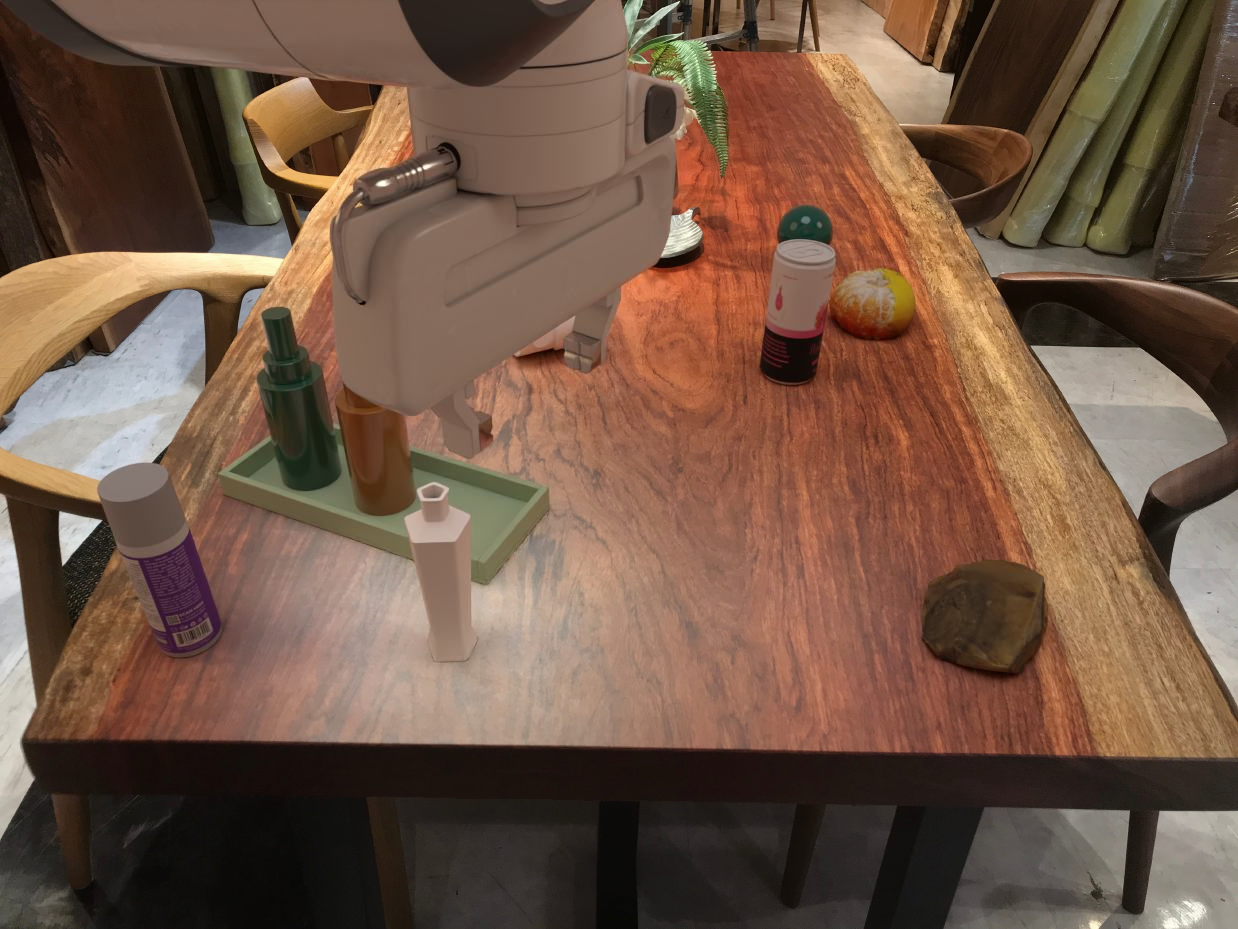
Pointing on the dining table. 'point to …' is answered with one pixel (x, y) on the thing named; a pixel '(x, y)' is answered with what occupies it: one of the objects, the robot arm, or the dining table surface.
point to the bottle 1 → (296, 408)
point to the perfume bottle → (443, 572)
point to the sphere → (805, 225)
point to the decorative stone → (986, 615)
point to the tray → (486, 495)
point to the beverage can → (796, 310)
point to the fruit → (873, 304)
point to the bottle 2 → (376, 455)
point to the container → (161, 558)
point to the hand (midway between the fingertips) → (531, 404)
